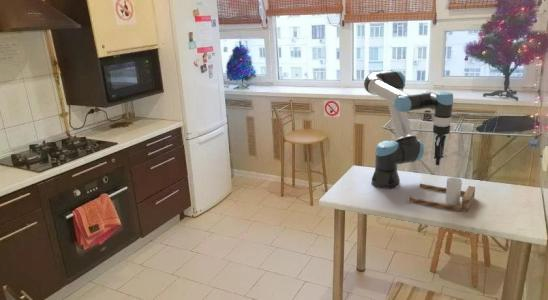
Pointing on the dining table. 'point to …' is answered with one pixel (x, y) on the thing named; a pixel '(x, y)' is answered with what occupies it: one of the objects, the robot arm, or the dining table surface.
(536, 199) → the dining table surface
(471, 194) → the end stop
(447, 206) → the guide lane
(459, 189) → the mug
